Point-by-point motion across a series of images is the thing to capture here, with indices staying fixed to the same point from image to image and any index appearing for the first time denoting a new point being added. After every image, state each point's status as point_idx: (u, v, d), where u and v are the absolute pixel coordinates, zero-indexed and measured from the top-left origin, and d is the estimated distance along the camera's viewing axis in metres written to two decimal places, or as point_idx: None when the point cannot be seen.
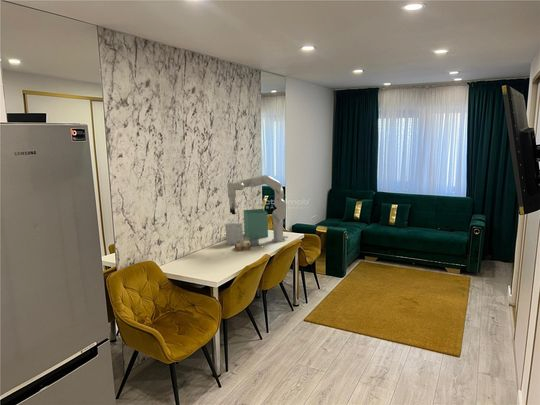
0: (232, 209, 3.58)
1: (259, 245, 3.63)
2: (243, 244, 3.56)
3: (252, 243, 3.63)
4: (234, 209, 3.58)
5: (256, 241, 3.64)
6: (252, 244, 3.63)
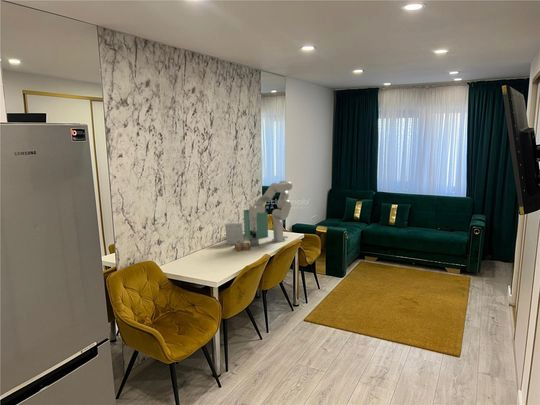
0: (253, 232, 3.58)
1: (259, 245, 3.63)
2: (243, 244, 3.56)
3: (252, 243, 3.63)
4: (255, 232, 3.57)
5: (256, 241, 3.64)
6: (252, 244, 3.63)
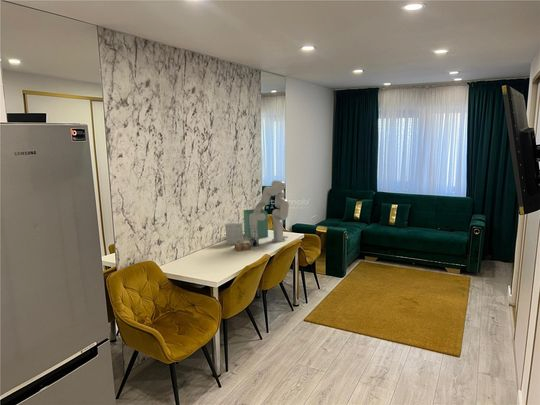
0: (253, 241, 3.61)
1: (259, 245, 3.63)
2: (243, 244, 3.56)
3: (252, 243, 3.63)
4: (255, 241, 3.61)
5: (256, 241, 3.63)
6: (252, 244, 3.63)
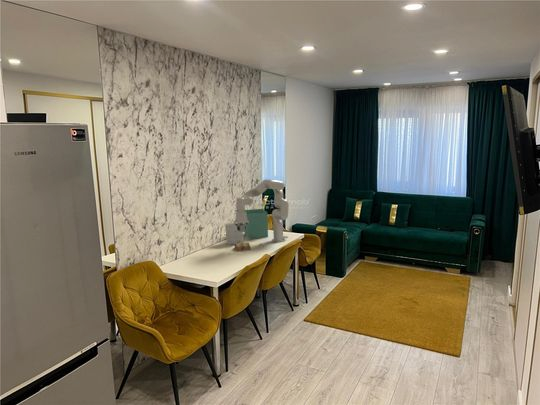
0: None
1: (259, 245, 3.63)
2: (243, 244, 3.56)
3: None
4: (236, 225, 3.50)
5: (239, 226, 3.50)
6: None
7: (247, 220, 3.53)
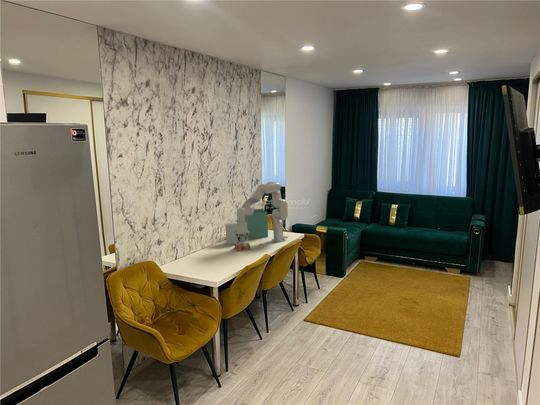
0: (237, 235, 3.54)
1: (259, 245, 3.63)
2: (243, 244, 3.56)
3: None
4: None
5: (239, 236, 3.52)
6: None
7: (247, 230, 3.54)
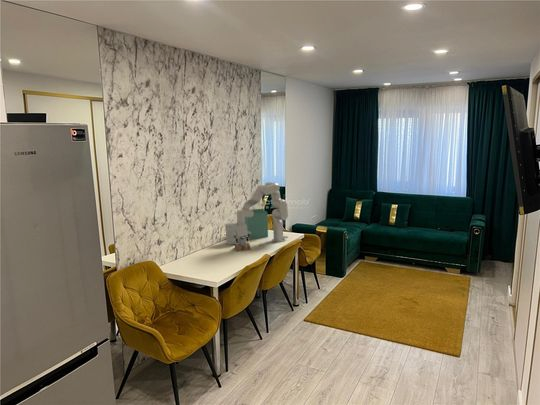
0: (235, 236, 3.54)
1: (259, 245, 3.63)
2: None
3: (239, 241, 3.57)
4: None
5: (239, 240, 3.53)
6: (239, 242, 3.57)
7: (248, 232, 3.55)
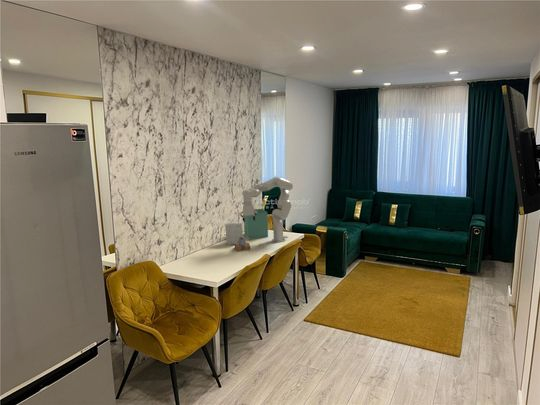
0: (242, 216, 3.59)
1: (259, 245, 3.63)
2: None
3: (239, 241, 3.57)
4: None
5: (239, 240, 3.53)
6: (239, 242, 3.57)
7: (255, 211, 3.60)
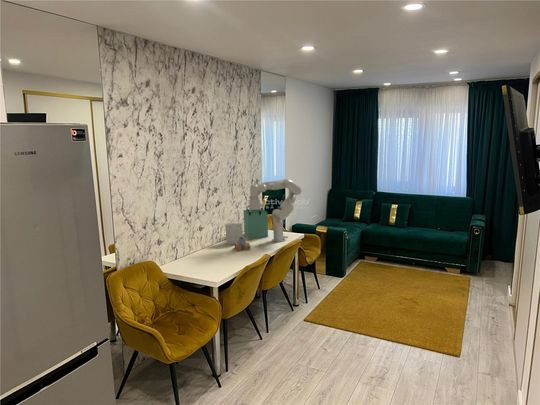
0: (248, 210, 3.66)
1: (259, 245, 3.63)
2: None
3: (239, 241, 3.57)
4: (248, 210, 3.64)
5: (239, 240, 3.53)
6: (239, 242, 3.57)
7: (261, 205, 3.67)
